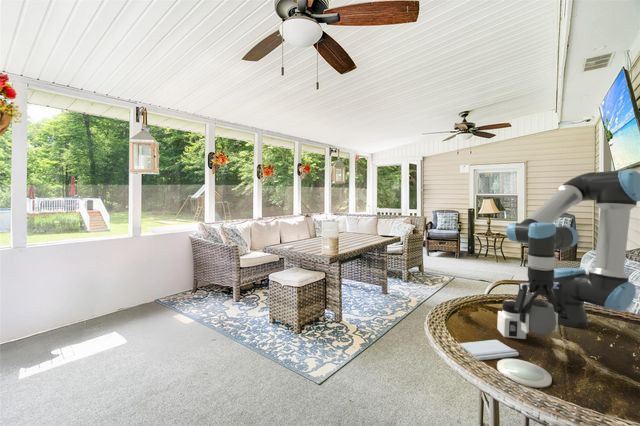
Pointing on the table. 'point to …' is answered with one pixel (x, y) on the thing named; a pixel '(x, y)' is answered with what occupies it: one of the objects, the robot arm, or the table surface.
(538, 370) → the saucer
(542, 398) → the table surface
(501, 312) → the container
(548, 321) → the cup
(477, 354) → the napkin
